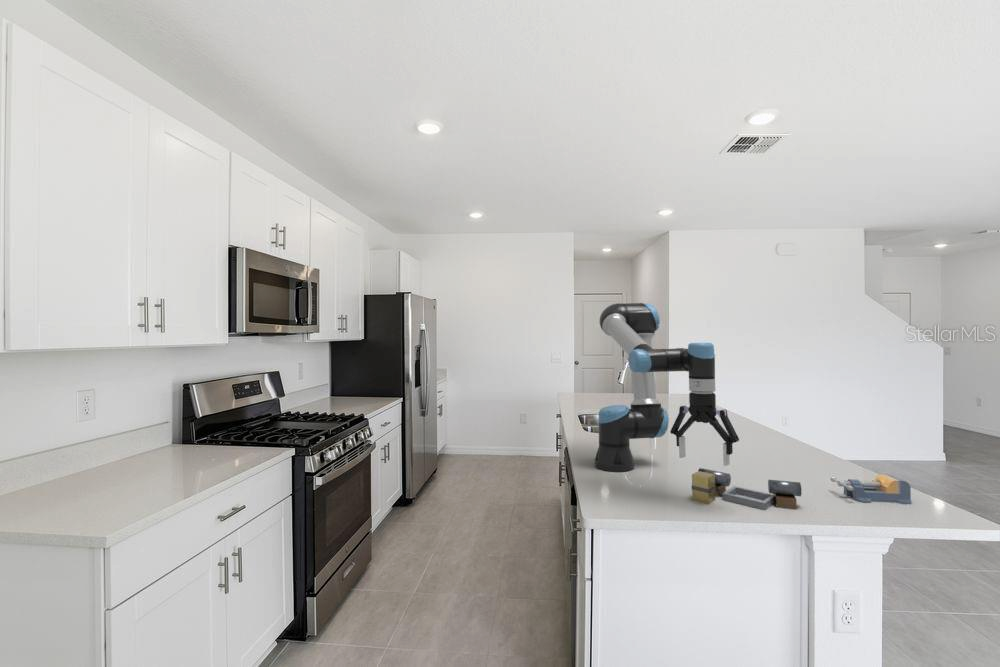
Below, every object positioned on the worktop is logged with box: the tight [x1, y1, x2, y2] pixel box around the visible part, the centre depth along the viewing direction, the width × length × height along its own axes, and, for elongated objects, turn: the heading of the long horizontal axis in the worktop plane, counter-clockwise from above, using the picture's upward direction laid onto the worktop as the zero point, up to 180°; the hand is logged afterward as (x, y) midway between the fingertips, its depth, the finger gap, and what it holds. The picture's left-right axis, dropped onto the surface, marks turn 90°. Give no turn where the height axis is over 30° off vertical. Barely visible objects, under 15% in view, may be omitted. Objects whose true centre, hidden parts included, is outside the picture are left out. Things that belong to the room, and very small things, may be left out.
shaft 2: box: [767, 479, 802, 510], centre depth 139 cm, size 8×6×7 cm
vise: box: [830, 473, 912, 505], centre depth 143 cm, size 18×10×7 cm, turn 82°
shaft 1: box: [697, 467, 732, 498], centre depth 150 cm, size 9×6×7 cm, turn 43°
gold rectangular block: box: [691, 470, 716, 505], centre depth 144 cm, size 5×5×8 cm
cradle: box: [722, 485, 775, 511], centre depth 142 cm, size 12×10×2 cm
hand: (703, 460), depth 143 cm, fingers open, 13 cm apart
